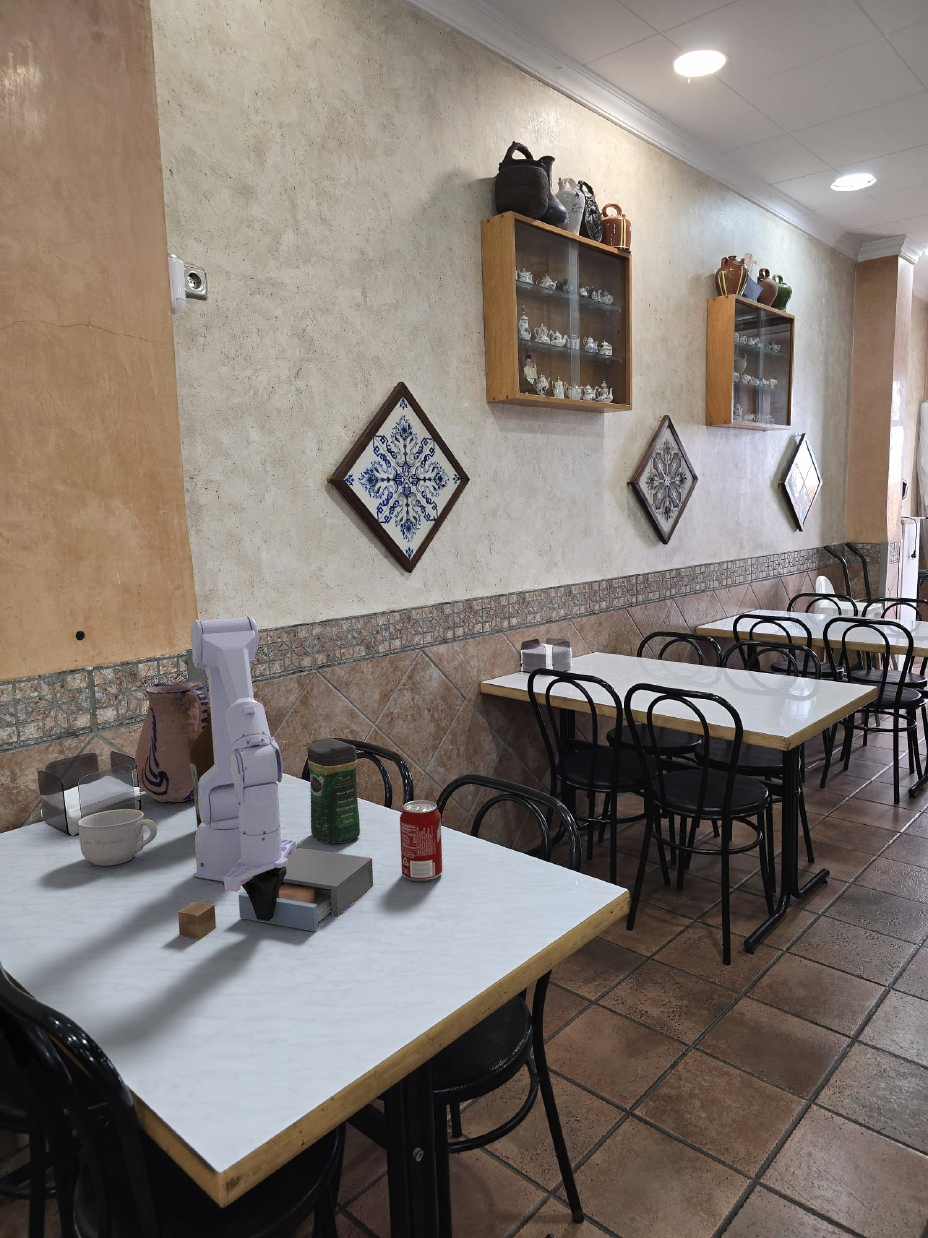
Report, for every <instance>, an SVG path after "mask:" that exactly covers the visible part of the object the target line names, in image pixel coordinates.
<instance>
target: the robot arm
mask: <svg viewBox="0 0 928 1238" xmlns="http://www.w3.org/2000/svg"><path fill="white" fill-rule="evenodd" d="M259 636H260V635H259V629H258V624H257V621H256V619H254V618H253V617H252V615H249V616H246V617H234V618H219V619H205V620H204V619H203V620H202V619H201V620H199V619H195V620H194V621H193V622H192V623H191V626H190V641H191V653H192V656H191V657H192V662H193V664H194V667H195V668H196V669H200V670H204V671H205V672H204V673H205V674H206V676H207V677H206V678H207V680H208V691H209V704H210V708H211V722H212V737H213V751H214V765H213V766H212V767H211V768H210V769H209V770H208V771H207V772H206V773H205V774H204V775H202V777H201V778H200V781H199V782H198V784H199V792H198V806H199V813H200V818H201V821H202V823H201V824H200V825H199V827H198V829H197V828H196V832H195V837H194V844H195V845H194V848H195V849H194V850H195V861H196V863H195V864H196V872H194V873H193V877H195V878H199V879H206V880H212V881H213V880H214V881H217V882H219V881H220V882H223V883H224V884H223V885H224V886H223V887H224V890H225V891H229V892H235V893H237V892H238V891H240V890H241V887H242V888H243V889H244V892H246V893H247V895H248V896H249V899H250V901H251V903H252V906H253V909H254V912H255V915H256V918H257V919H258V920H263V921H269V920H270V919H272V918H273V915H274V911H275V906H276V901H277V896H278V892H279V889H280V886H281V884H282V881H283V879H284V877H285V875H286V873H287V872H286V867H284V866H285V865H286V864H288V859H287V858H286V856H287V855H288V854H289V855H293V854H294V853H296V849H297V847H296V845H297V844H296V843H297V842H296V840H294V839H289V838H284V839H283V840H282V835H281V834H282V833H281V814H280V800H279V799H280V798H279V797H280V795H279V793H280V792H279V784H278V783H281V782H282V780H283V770H284V768H283V767H284V766H283V759H282V754H281V751H280V750H281V749H280V748H279V747H280V746H279V745H278V743H277V742H276V739H275V737H274V736H271V731H270V727H269V724H268V720H267V716H266V711H265V707H264V705H263V704H262V703H261V702H259V701H257V700H256V699H254V698H255V697H254V689H253V683H252V682H253V681H252V674H251V666H250V662H252V661H253V660H255V657H256V653H257V651H258V649H259V644H260V642H259V640H260V639H259V638H260V637H259ZM277 782H278V783H277Z"/></svg>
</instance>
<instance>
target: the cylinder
mask: <svg viewBox="0 0 928 1238" xmlns="http://www.w3.org/2000/svg"><path fill="white" fill-rule="evenodd" d="M279 898H281V899H287V900H293V901H299V902H305V903H311V904H315V887H312V886H306V885H300V884H294V883H286V884H283V885H282V886H281V887H280V889H279Z"/></svg>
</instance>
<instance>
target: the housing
mask: <svg viewBox="0 0 928 1238" xmlns="http://www.w3.org/2000/svg"><path fill="white" fill-rule="evenodd" d="M286 858H287V859H288V864H286V865H285V866H284V867H286V872H287V873H286V875H285V877H284V879H283V881H282V884H281V886H282V885H283V884H286V883H294V884H300V885H306V886H312V887H319V888H325V889H331V903H332V911H331V915H332V916H334V917H335V916H336V917H338V916H340V914H342V913H343V912H345V910H346V909H347V908H349V907H350V906H351V905H352V904H353V903H355V902H356V901H357V900H358V899H360V898H361V896H363V895H364V894H365V893H366V892H368V891H369V890H370V889H371V888H372V887H373V886H374V876H373V875H374V874H373V873H374V872H373V858H372V857H366V856H360V855H359V856H358V855H352V854H345V853H338V852H330V851H325V850H316V849H309V848H303V847H296V853H294V854H293V855H289V854H288V855H287V856H286ZM281 886H280V887H281Z"/></svg>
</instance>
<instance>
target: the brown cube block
mask: <svg viewBox="0 0 928 1238" xmlns="http://www.w3.org/2000/svg"><path fill="white" fill-rule="evenodd" d="M177 918H178V931H179V932H178V933H179V936H181V937H182V936H183V937H187V938H192V939H196V940H197V939H198V940H201V939H202V938H203V937H205V936H207V934H209V933H210V932H212V931H213V930H215V929H216V928H217V922H216V905H215V904H211V903H206V902H201V901H193V902H191V903H189V904H188V905H187V906H185V907H183V908H182V909H180V910H179V911H177Z"/></svg>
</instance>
